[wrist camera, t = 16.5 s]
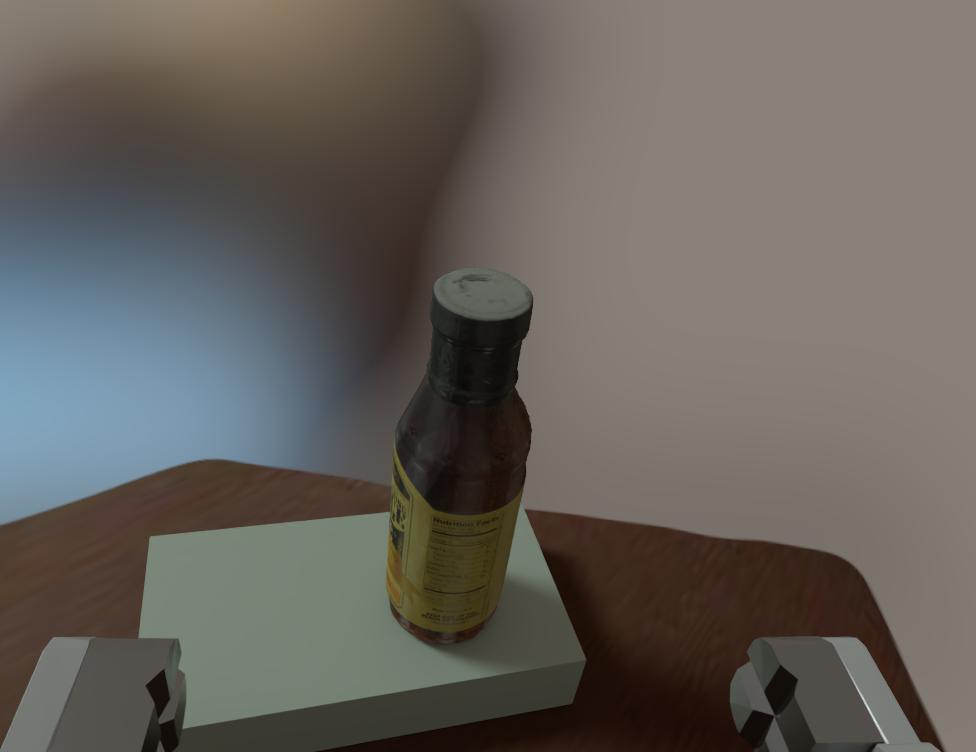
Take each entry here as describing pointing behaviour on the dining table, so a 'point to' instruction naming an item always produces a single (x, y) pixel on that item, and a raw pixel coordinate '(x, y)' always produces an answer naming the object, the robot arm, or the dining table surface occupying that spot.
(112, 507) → the dining table surface
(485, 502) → the sauce bottle
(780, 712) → the robot arm
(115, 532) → the dining table surface
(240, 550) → the pale green rectangular block
